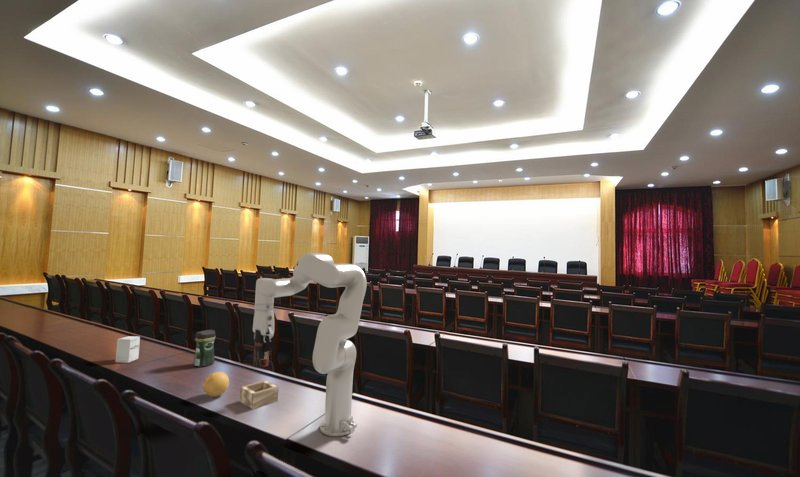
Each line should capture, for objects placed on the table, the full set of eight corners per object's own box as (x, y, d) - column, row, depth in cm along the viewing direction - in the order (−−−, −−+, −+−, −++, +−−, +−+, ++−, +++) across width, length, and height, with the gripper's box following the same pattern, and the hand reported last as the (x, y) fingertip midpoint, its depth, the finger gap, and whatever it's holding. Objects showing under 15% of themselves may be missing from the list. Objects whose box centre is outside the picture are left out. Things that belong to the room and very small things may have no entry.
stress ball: (228, 393, 154) (215, 376, 156) (237, 380, 150) (223, 363, 153) (208, 405, 145) (194, 387, 147) (216, 392, 141) (203, 373, 144)
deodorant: (262, 367, 142) (265, 331, 143) (250, 366, 143) (252, 330, 144) (271, 363, 148) (273, 328, 149) (258, 362, 149) (260, 327, 150)
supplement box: (128, 363, 186) (130, 339, 186) (114, 362, 186) (116, 338, 186) (138, 358, 193) (140, 336, 194) (126, 358, 193) (127, 335, 194)
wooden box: (277, 401, 146) (278, 386, 146) (252, 409, 137) (253, 394, 137) (264, 393, 153) (264, 380, 153) (239, 401, 144) (240, 386, 144)
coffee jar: (208, 361, 194) (210, 328, 195) (216, 363, 190) (218, 330, 191) (190, 365, 185) (192, 330, 186) (199, 368, 181) (201, 333, 182)
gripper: (283, 309, 144) (280, 352, 143) (261, 304, 155) (259, 344, 154) (266, 310, 138) (264, 356, 138) (245, 305, 149) (243, 347, 148)
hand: (261, 349), depth 146 cm, fingers closed on deodorant, 6 cm apart
